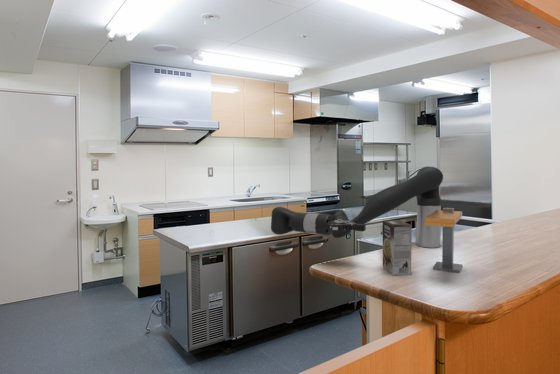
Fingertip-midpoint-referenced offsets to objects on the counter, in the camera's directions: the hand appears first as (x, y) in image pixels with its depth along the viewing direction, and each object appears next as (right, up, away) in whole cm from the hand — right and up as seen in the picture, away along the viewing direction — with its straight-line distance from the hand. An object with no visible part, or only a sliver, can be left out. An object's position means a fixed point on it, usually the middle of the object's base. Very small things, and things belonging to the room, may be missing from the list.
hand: (364, 228), depth 128 cm
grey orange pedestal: (+23, -14, -8) cm, 28 cm away
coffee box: (+9, -14, -4) cm, 17 cm away
